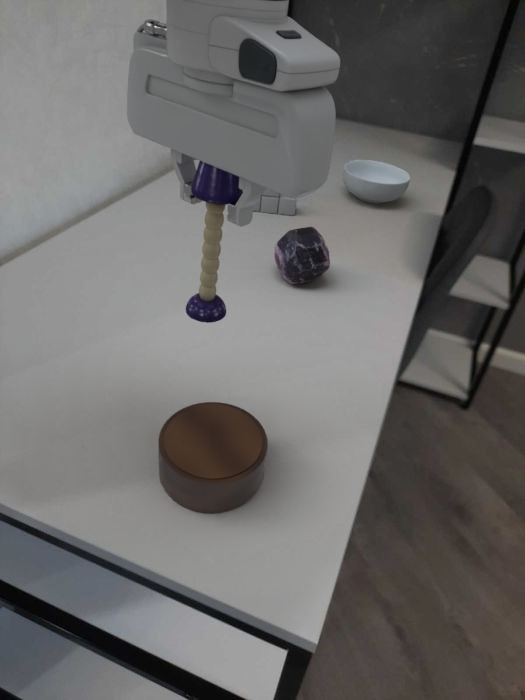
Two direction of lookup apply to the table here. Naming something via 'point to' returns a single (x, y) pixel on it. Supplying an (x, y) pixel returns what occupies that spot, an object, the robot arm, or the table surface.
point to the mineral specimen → (302, 255)
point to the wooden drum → (212, 456)
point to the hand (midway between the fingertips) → (215, 211)
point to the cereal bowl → (375, 180)
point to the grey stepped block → (275, 203)
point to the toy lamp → (211, 238)
